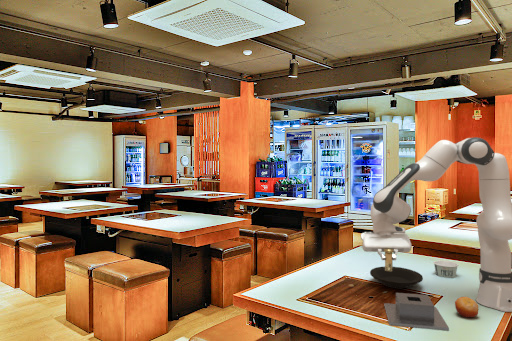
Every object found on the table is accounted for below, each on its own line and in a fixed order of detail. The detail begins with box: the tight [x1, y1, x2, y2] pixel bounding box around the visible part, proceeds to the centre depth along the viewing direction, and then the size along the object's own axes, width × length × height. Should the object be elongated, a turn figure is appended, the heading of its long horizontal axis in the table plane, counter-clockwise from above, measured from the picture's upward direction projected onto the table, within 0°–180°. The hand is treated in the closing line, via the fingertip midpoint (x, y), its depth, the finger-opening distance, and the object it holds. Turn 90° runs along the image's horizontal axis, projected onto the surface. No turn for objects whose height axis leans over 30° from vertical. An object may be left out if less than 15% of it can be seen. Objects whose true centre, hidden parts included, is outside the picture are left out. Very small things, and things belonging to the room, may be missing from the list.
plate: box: [369, 266, 424, 290], centre depth 184 cm, size 28×24×6 cm
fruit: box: [454, 296, 479, 318], centre depth 147 cm, size 8×8×8 cm
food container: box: [432, 260, 459, 279], centre depth 201 cm, size 12×12×6 cm
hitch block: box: [383, 292, 450, 332], centre depth 145 cm, size 20×20×7 cm
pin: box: [383, 248, 394, 271], centre depth 160 cm, size 4×4×9 cm
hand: (389, 259), depth 159 cm, fingers closed on pin, 3 cm apart
